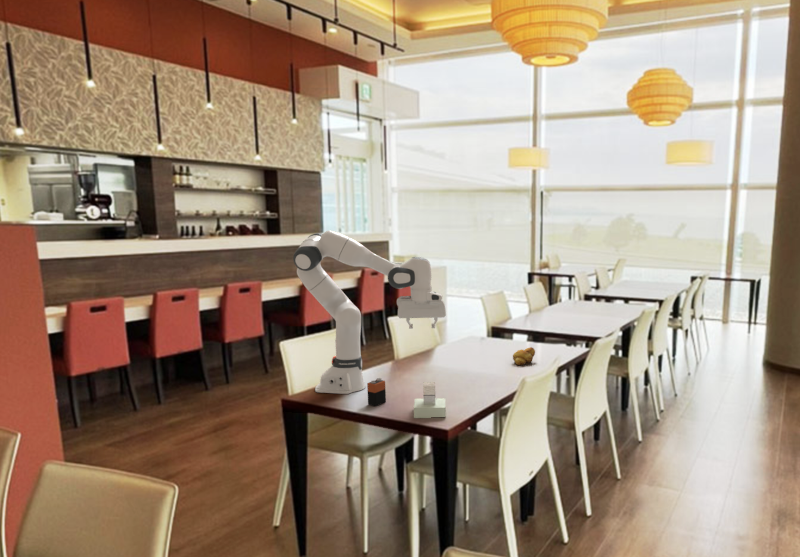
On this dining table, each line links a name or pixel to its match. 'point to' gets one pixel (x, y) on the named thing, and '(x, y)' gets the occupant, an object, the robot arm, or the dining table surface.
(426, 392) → the block
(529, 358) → the bread roll
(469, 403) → the dining table surface
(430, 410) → the stand
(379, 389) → the battery
